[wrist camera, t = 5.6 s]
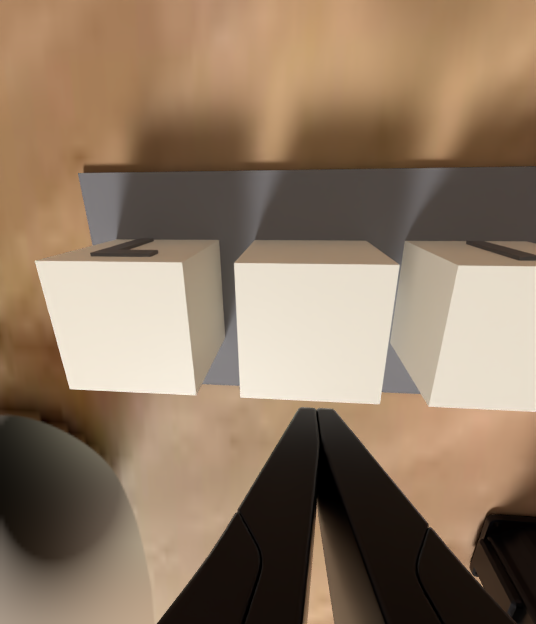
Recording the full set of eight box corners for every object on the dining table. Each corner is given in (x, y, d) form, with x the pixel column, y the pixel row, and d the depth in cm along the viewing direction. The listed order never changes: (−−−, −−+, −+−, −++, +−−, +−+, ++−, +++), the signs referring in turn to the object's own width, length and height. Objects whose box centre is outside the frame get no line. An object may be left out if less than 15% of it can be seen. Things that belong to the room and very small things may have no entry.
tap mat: (574, 166, 15) (581, 165, 15) (504, 393, 20) (508, 397, 19) (82, 173, 17) (77, 173, 17) (123, 376, 22) (120, 380, 22)
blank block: (366, 240, 17) (399, 264, 11) (355, 341, 19) (379, 404, 13) (254, 240, 17) (234, 263, 12) (257, 338, 19) (240, 397, 14)
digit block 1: (526, 238, 16) (648, 263, 10) (496, 346, 18) (583, 414, 13) (405, 237, 17) (459, 261, 11) (390, 342, 19) (428, 406, 13)
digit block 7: (218, 237, 17) (181, 258, 12) (225, 337, 20) (196, 395, 14) (115, 236, 18) (33, 256, 12) (133, 334, 20) (70, 389, 15)
